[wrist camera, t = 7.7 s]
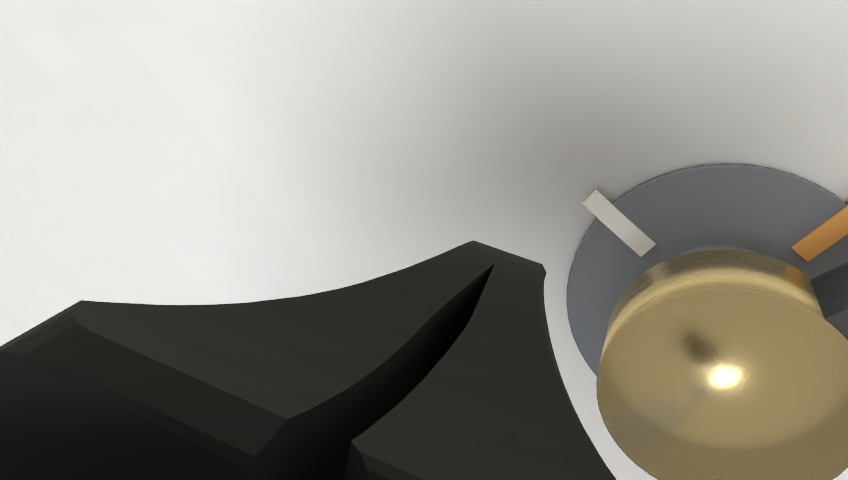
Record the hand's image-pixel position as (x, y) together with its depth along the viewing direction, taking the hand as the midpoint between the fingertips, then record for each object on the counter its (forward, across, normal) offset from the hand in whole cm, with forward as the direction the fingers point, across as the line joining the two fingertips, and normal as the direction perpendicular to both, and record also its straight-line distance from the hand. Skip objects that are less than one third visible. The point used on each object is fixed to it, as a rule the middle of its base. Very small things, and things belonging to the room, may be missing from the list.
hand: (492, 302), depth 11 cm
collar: (+7, -7, +1) cm, 10 cm away
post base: (+10, -5, +3) cm, 12 cm away
